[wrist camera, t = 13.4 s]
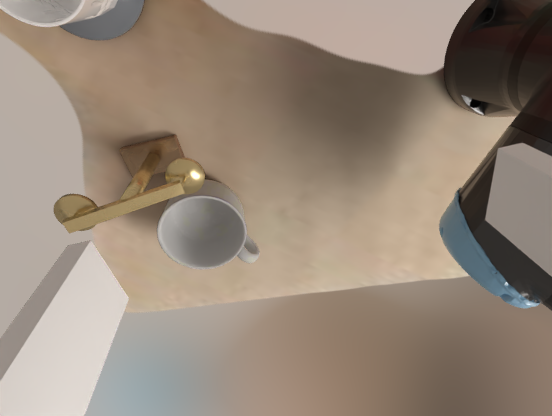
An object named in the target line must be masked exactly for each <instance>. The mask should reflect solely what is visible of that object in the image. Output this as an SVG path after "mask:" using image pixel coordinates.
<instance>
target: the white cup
mask: <svg viewBox="0 0 552 416" xmlns="http://www.w3.org/2000/svg"><path fill="white" fill-rule="evenodd" d="M117 1H118V0H0V9H1V10H3V11H4V12H6V13H7V14H9V15H10V16H12V17H14V18H16V19H17V20H20V21H22V22H24V23H27V24H30V25H34V26H39V27H55V26H60V25H64V24H69V23H75V22H80V21H84V20H87V19H91V18H94V17H97V16H101V15H103V14H105V13H106V12H108V11H110V10H111V9H113V8H114V7H115V5H116V3H117Z"/></svg>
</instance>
